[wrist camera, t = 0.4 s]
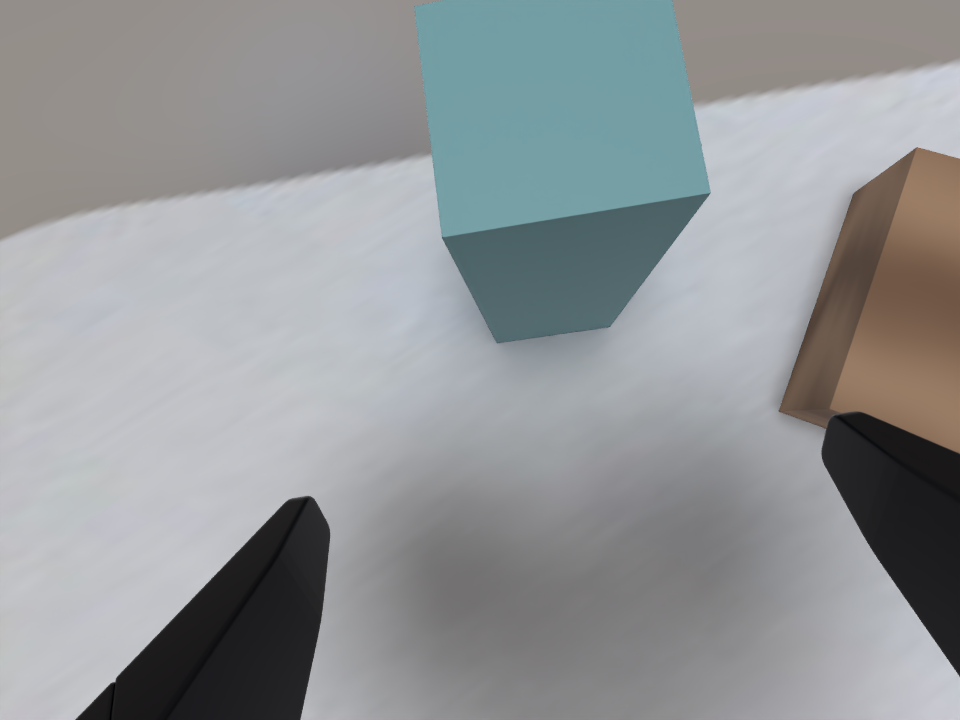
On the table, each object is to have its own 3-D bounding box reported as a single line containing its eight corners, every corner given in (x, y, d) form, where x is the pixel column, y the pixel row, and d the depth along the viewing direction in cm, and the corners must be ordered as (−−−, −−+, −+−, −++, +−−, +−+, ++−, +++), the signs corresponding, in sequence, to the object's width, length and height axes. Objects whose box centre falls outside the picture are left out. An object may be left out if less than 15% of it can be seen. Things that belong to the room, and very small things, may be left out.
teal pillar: (609, 327, 22) (710, 192, 9) (496, 343, 22) (441, 237, 10) (591, 219, 23) (662, -47, 10) (483, 237, 23) (414, 6, 10)
